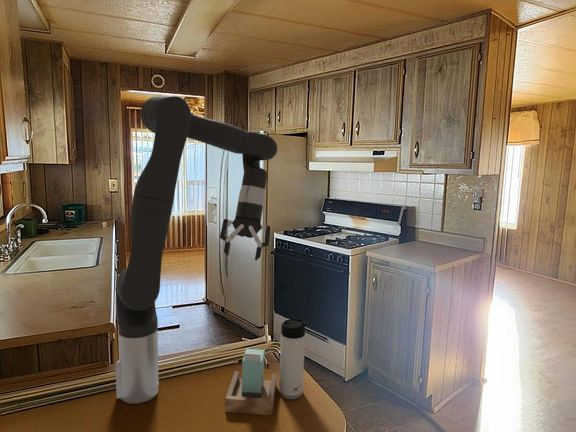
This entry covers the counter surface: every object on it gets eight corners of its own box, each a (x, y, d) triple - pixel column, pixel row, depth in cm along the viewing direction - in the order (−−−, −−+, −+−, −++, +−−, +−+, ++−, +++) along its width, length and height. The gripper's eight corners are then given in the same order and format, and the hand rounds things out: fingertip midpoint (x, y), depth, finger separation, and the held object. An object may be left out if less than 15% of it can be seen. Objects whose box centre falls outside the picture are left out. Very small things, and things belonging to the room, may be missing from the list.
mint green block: (241, 397, 100) (242, 353, 98) (245, 383, 106) (246, 342, 104) (260, 398, 100) (262, 355, 98) (263, 385, 106) (264, 343, 104)
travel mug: (301, 401, 102) (304, 327, 99) (276, 397, 103) (278, 324, 100) (305, 387, 108) (308, 317, 105) (281, 384, 109) (284, 315, 106)
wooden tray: (225, 411, 97) (225, 398, 96) (234, 383, 109) (234, 371, 108) (271, 415, 96) (272, 402, 96) (276, 386, 108) (276, 374, 108)
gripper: (225, 197, 113) (215, 254, 111) (274, 205, 113) (265, 262, 112) (228, 200, 120) (219, 254, 119) (275, 208, 120) (266, 261, 119)
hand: (241, 257), depth 115 cm, fingers open, 8 cm apart
